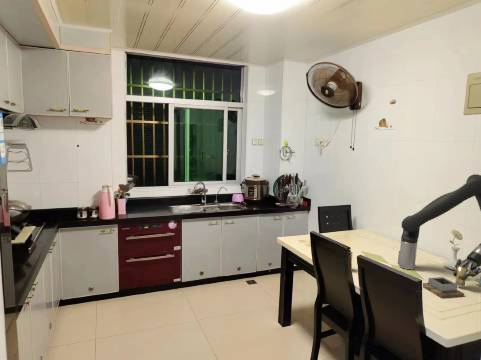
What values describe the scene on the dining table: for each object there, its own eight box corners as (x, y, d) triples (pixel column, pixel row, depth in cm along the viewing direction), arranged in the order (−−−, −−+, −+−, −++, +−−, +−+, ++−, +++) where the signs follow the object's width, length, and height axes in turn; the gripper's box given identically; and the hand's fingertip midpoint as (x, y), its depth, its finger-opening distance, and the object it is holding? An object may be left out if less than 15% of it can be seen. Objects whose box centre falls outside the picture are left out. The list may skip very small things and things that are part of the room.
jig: (420, 285, 180) (421, 276, 179) (442, 284, 182) (443, 275, 182) (441, 298, 166) (442, 288, 165) (463, 296, 169) (465, 286, 168)
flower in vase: (467, 273, 200) (472, 234, 197) (446, 270, 202) (451, 232, 199) (457, 265, 213) (462, 228, 210) (438, 263, 215) (442, 226, 212)
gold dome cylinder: (453, 282, 181) (455, 265, 179) (459, 282, 182) (462, 265, 180) (460, 286, 176) (462, 268, 175) (466, 285, 177) (469, 268, 176)
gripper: (464, 246, 185) (444, 267, 184) (488, 256, 171) (466, 278, 170) (470, 255, 187) (450, 276, 186) (494, 265, 173) (473, 287, 172)
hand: (458, 277), depth 178 cm, fingers closed on gold dome cylinder, 4 cm apart
